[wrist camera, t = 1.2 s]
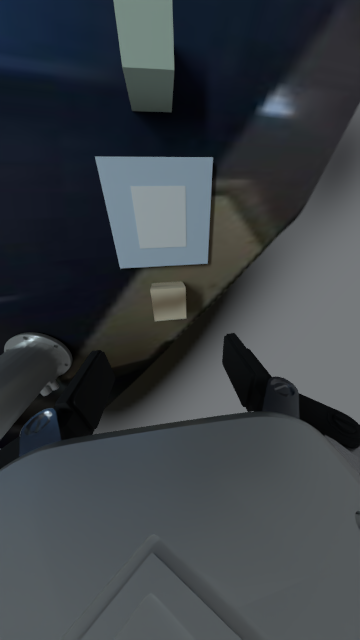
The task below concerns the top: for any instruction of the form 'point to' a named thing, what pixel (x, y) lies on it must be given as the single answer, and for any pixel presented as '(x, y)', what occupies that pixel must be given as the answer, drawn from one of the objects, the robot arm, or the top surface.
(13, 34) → the top surface
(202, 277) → the top surface
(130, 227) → the board
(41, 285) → the top surface
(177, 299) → the birch block
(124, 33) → the sage block
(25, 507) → the robot arm
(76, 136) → the top surface
